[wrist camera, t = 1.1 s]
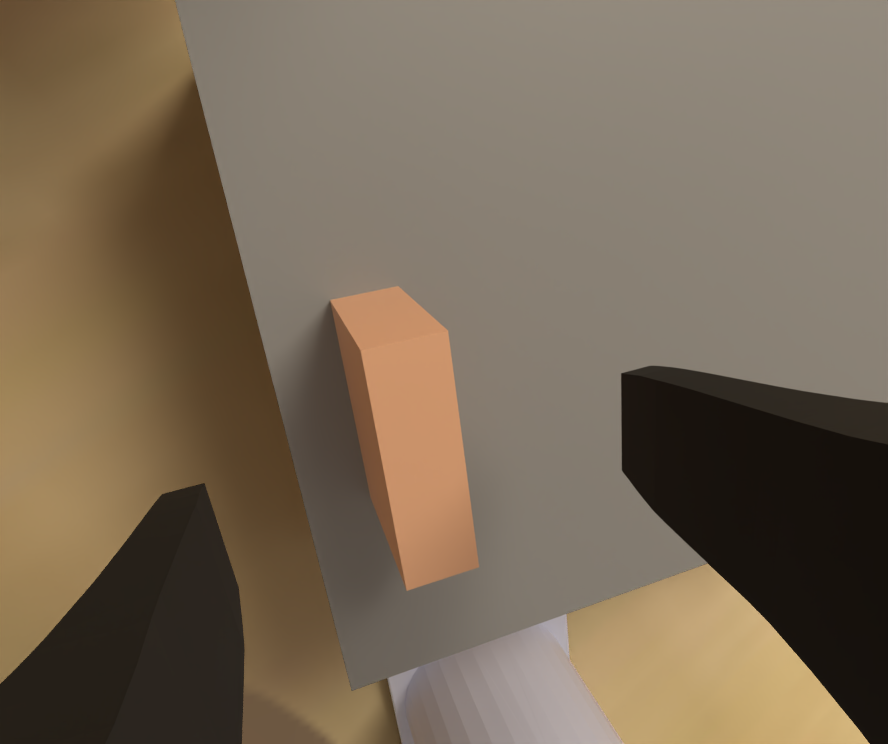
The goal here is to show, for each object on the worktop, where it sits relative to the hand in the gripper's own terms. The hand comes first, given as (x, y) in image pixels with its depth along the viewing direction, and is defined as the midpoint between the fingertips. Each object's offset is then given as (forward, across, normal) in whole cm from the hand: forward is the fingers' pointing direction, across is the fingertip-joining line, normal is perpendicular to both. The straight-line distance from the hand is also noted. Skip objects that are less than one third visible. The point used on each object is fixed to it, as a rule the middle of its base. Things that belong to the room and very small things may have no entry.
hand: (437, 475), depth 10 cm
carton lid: (+5, -9, 0) cm, 10 cm away
